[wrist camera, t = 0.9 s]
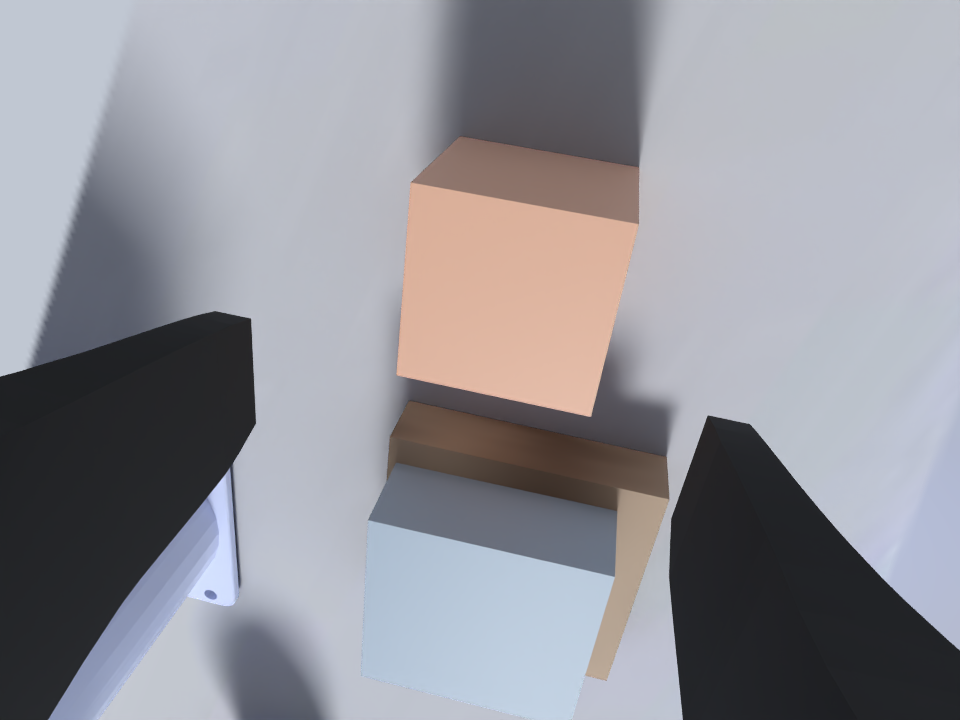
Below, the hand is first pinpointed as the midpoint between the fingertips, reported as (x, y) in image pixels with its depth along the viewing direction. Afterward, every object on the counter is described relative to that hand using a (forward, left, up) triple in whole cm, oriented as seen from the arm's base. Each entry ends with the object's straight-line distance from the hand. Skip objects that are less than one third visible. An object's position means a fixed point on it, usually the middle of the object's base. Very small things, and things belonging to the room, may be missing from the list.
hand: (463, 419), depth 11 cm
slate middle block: (0, -10, -7) cm, 12 cm away
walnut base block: (+1, -10, -9) cm, 14 cm away
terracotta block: (0, 0, -9) cm, 9 cm away
